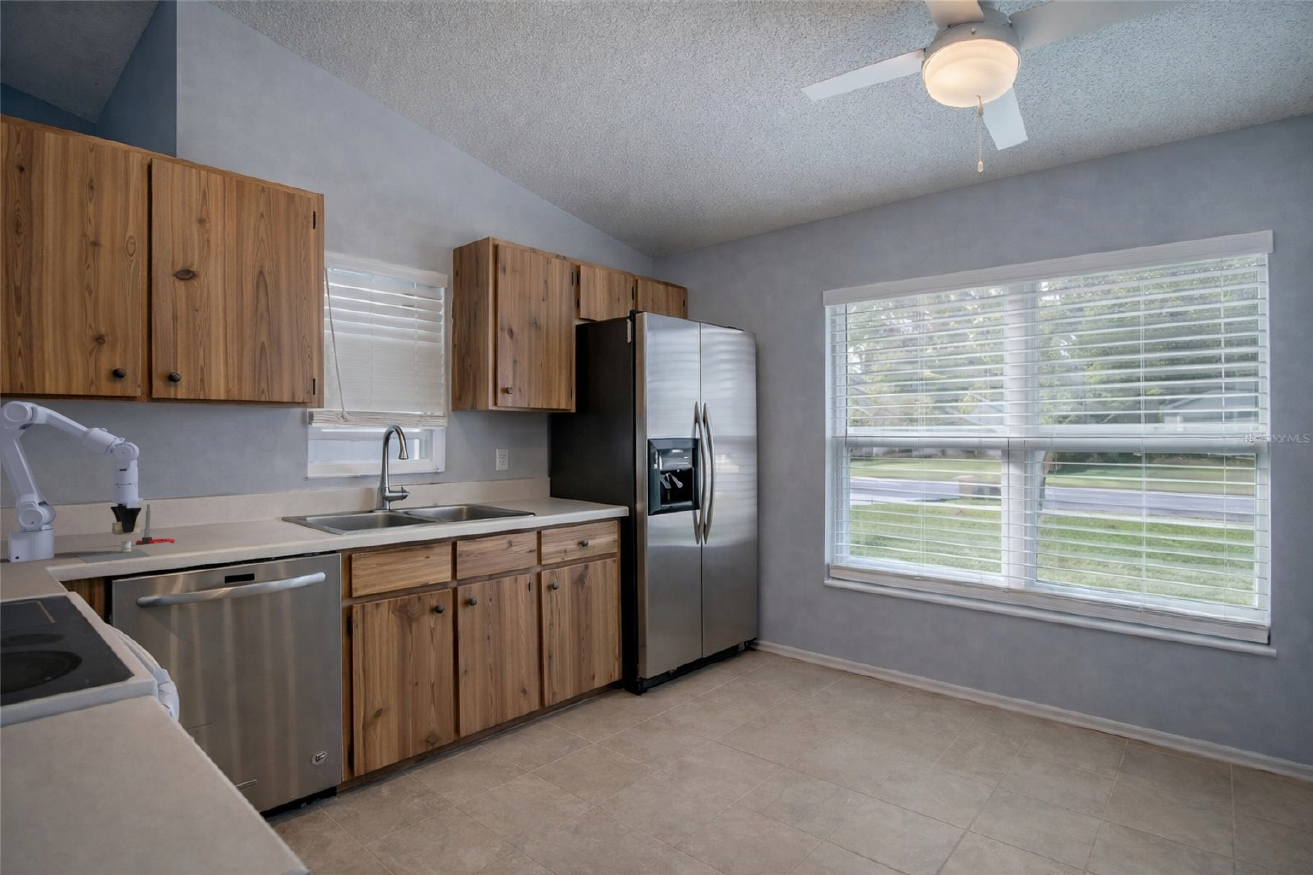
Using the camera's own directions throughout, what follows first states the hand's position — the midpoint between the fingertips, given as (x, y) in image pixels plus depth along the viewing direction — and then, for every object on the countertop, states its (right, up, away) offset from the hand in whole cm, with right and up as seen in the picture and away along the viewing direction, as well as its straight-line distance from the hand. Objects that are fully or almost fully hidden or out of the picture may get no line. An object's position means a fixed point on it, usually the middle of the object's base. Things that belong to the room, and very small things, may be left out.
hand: (126, 531), depth 198 cm
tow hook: (-6, -7, +21) cm, 23 cm away
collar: (0, -1, 0) cm, 0 cm away
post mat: (+1, -7, -5) cm, 9 cm away
